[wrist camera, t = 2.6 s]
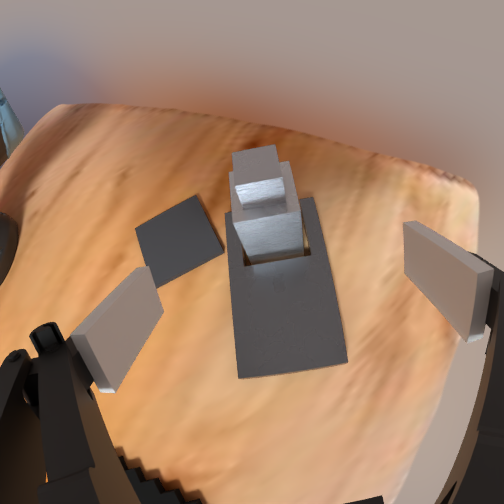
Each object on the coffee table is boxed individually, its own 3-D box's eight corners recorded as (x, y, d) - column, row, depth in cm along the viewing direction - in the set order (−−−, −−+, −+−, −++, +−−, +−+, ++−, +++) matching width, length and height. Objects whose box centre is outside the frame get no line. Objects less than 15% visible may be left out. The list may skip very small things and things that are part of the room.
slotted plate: (346, 363, 24) (348, 362, 23) (242, 379, 25) (238, 378, 24) (313, 205, 31) (313, 197, 30) (228, 220, 32) (224, 213, 31)
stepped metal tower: (304, 257, 29) (298, 185, 19) (252, 266, 30) (222, 199, 20) (295, 213, 31) (285, 134, 22) (247, 222, 32) (219, 147, 22)
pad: (137, 230, 34) (134, 228, 33) (197, 197, 34) (195, 194, 34) (155, 289, 30) (152, 287, 30) (224, 252, 31) (222, 250, 30)
